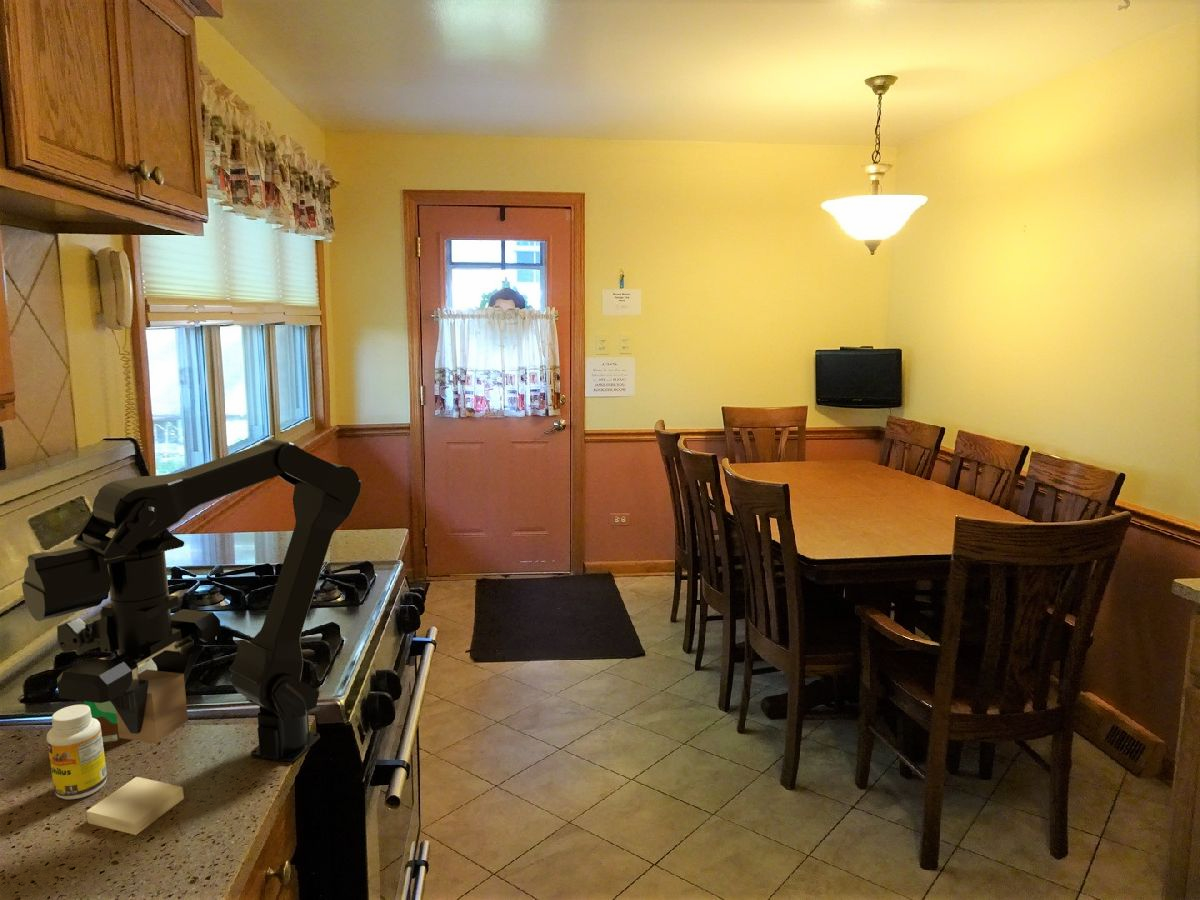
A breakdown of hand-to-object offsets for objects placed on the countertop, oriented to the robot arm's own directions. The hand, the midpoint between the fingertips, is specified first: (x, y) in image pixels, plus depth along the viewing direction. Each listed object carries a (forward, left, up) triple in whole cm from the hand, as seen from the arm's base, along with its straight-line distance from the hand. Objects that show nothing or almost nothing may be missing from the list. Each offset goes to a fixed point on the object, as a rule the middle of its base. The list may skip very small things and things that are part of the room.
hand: (152, 721), depth 95 cm
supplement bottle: (-1, -13, -12) cm, 17 cm away
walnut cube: (0, 0, -1) cm, 1 cm away
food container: (-14, -17, -12) cm, 25 cm away
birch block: (+1, -3, -12) cm, 12 cm away
